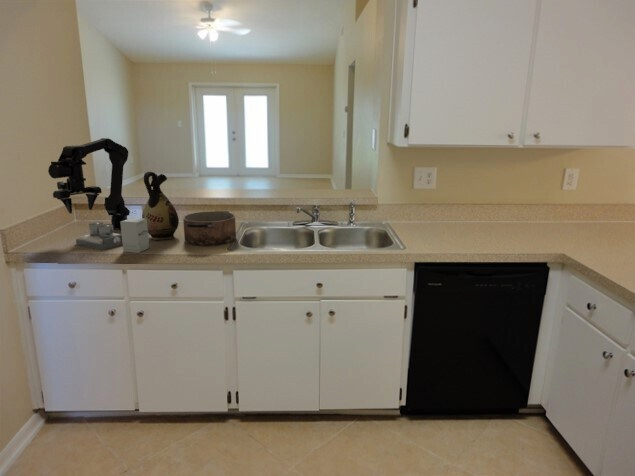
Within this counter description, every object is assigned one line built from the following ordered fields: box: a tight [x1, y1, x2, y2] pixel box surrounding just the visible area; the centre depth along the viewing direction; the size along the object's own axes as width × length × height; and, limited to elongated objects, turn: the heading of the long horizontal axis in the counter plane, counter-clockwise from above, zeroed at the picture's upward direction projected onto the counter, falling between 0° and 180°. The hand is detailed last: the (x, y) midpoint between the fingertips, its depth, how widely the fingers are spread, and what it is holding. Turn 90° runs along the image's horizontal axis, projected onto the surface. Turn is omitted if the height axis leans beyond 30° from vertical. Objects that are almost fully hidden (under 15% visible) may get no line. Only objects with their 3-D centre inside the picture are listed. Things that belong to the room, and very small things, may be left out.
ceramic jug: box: [141, 171, 180, 241], centre depth 185 cm, size 17×15×30 cm
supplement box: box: [120, 217, 150, 254], centre depth 169 cm, size 7×7×13 cm
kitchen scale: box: [75, 232, 123, 251], centre depth 179 cm, size 14×17×4 cm
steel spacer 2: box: [98, 223, 115, 239], centre depth 178 cm, size 6×6×5 cm
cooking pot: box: [182, 210, 237, 247], centre depth 187 cm, size 30×22×11 cm
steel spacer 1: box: [88, 221, 104, 236], centre depth 181 cm, size 6×6×5 cm
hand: (80, 211), depth 184 cm, fingers open, 9 cm apart
